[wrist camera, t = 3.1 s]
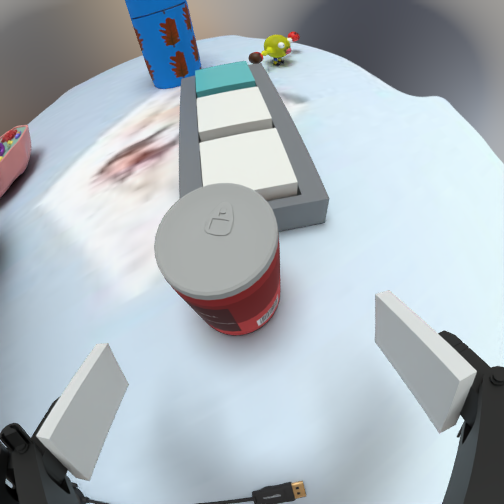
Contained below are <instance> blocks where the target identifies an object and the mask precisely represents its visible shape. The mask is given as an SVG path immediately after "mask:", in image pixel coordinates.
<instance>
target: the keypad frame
mask: <svg viewBox="0 0 504 504" xmlns="http://www.w3.org/2000/svg"><path fill="white" fill-rule="evenodd" d="M248 67H249V69H250V71H251V73H252V75H253V77H254V79H255V84H256V87H258V88H259V90H260V93H261V95H262V97H263V99H264V101H265V104H266V106H267V108H268V110H269V113H270V115H271V117H272V128H276V129H277V132H278V134H279V136H280V139H281V141H282V144H283V146H284V149H285V151H286V153H287V156H288V158H289V161H290V164H291V166H292V169H293V171H294V174H295V176H296V179H297V182H298V187H297V196H293V197H287V198H282V199H276V200H271V201H267V202H268V203H269V205H270V207H271V208H272V210H273V212H274V215H275V218H276V222H277V225H278V232H279V231H284V230H289V229H294V228H299V227H305V226H310V225H315V224H320V223H325V218H326V213H327V208H328V203H329V197H328V195H327V192H326V190H325V188H324V185H323V183H322V181H321V179H320V176H319V174H318V172H317V170H316V168H315V165H314V163H313V161H312V159H311V157H310V155H309V153H308V150H307V148H306V146H305V144H304V142H303V140H302V138H301V136H300V134H299V132H298V130H297V128H296V126H295V124H294V122H293V120H292V118H291V116H290V114H289V112H288V111H287V109H286V107H285V105H284V103H283V101H282V99H281V97H280V96H279V94H278V92H277V90H276V88H275V87H274V85H273V83H272V81H271V79H270V78H269V76H268V74H267V72H266V71H265V69H264V67H263V66H262V64H261V63H259V64H252V65H248ZM197 98H198V97H197V93H196V79H195V76H191V77H187V78H183V79H181V95H180V124H179V193H180V198H182V197H183V196H185V195H186V194H188V193H189V192H191V191H194V190H196V189H198V188H200V187H203V180H202V168H201V156H200V144H199V143H201V139H200V135H199V130H198V115H197Z"/></svg>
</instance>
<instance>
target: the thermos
mask: <svg viewBox="0 0 504 504" xmlns="http://www.w3.org/2000/svg"><path fill="white" fill-rule="evenodd" d="M125 1H126V5H127V8H128V11H129V14H130V17H131V21H132V24H133V27H134V30H135V33H136V36H137V39H138V42H139V44H140V48H141V51H142V53H143V56H144V59H145V62H146V65H147V68H148V71H149V73H150V76H151V78H152V80H153V83H154V85H155V87H157V88H159V89H167V88H174V87H177V86H181V79H183V78H187V77H191V76H195V71H196V70H200V69H201V63H200V57H199V52H198V48H197V44H196V39H195V35H194V31H193V26H192V22H191V18H190V14H189V9H188V5H187V1H186V0H125Z"/></svg>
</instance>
